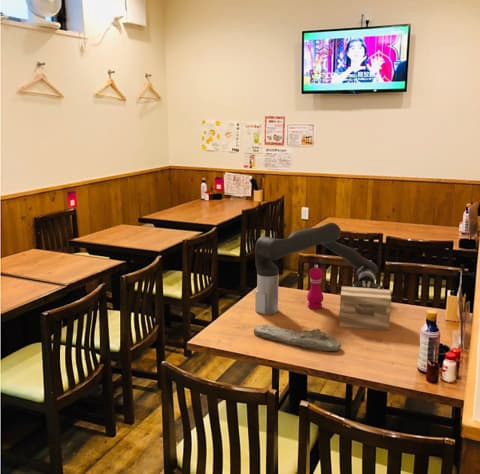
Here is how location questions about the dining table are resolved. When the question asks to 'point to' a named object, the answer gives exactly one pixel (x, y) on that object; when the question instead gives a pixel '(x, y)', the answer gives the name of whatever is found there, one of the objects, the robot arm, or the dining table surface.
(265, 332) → the long grey stone
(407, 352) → the dining table surface
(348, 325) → the wooden crate
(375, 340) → the dining table surface
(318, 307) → the pepper mill
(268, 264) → the robot arm
